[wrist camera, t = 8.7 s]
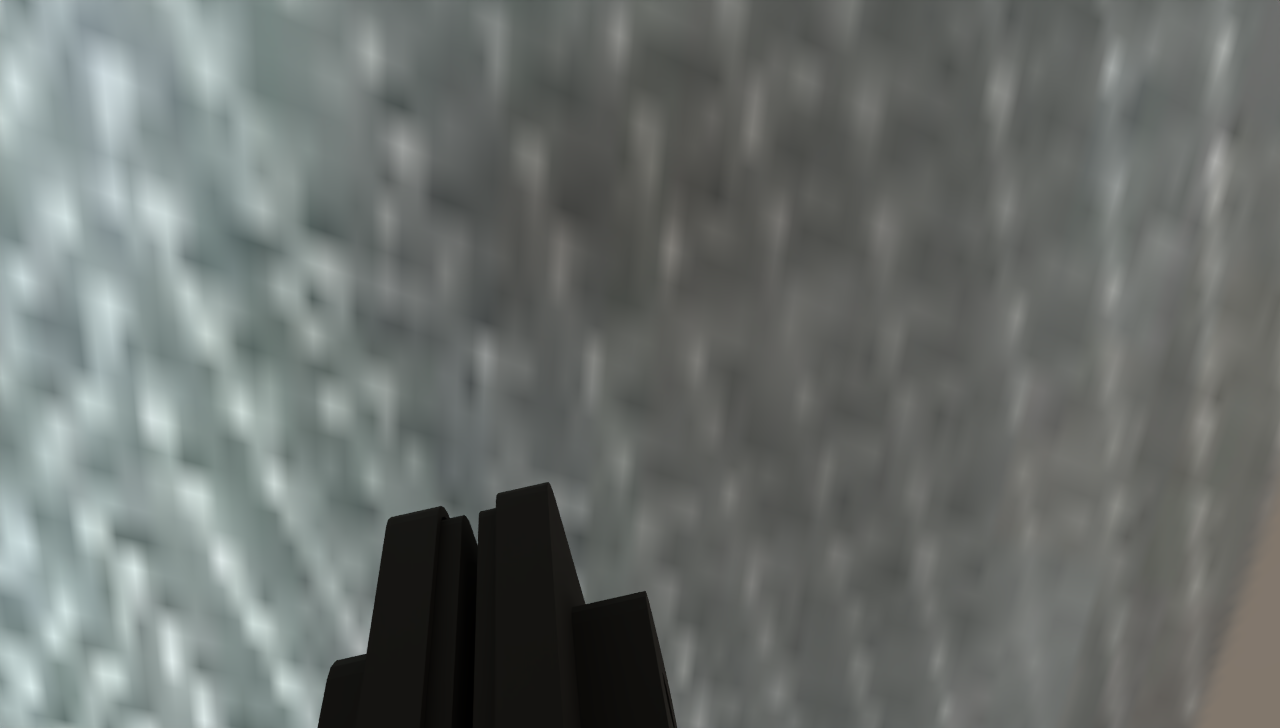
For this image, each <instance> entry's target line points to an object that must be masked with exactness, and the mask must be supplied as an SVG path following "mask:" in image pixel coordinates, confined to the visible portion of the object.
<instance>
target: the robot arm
mask: <svg viewBox="0 0 1280 728" xmlns="http://www.w3.org/2000/svg"><path fill="white" fill-rule="evenodd" d="M318 728H677V724H676V719H675V714H674V709H673V704H672V699H671V694H670V690H669V685H668V680H667V676H666V671H665V667H664V662H663V658H662V653H661V649H660V645H659V641H658V637H657V633H656V629H655V624H654V620H653V616H652V612H651V608H650V604H649V600H648V597H647V593H646V591H643V592H638V593H634V594H630V595H625V596H621V597H616V598H612V599H607V600H603V601H598V602H594V603H590V604H585V601H584V598H583V594H582V591H581V587H580V584H579V580H578V577H577V573H576V570H575V566H574V563H573V559H572V556H571V552H570V549H569V545H568V542H567V538H566V535H565V531H564V528H563V524H562V521H561V517H560V514H559V510H558V507H557V503H556V500H555V496H554V493H553V490H552V488H551V485H550V483H549V482H546V483H542V484H537V485H533V486H528V487H524V488H520V489H515V490H511V491H506V492H502V493H498V494H497V496H496V508H494V509H490V510H485V511H481V512H480V513H479V527H478V545H477V543H476V540H475V537H474V534H473V531H472V528H471V525H470V523H469V520H468V519H467V517H466V516H465V515H463V516H458V517H454V518H450V517H449V515H448V513H447V511H446V510H445V508H444V507H442V506H439V507H435V508H430V509H426V510H421V511H417V512H412V513H408V514H404V515H399V516H395V517H391V518H390V519H388V522H387V525H386V531H385V538H384V544H383V551H382V557H381V564H380V570H379V577H378V583H377V590H376V596H375V603H374V609H373V616H372V622H371V628H370V635H369V641H368V648H367V654H363V655H359V656H355V657H350V658H346V659H341V660H337V661H336V662H335V663H334V664H333V665H332V667H331V668H330V672H329V675H328V678H327V682H326V687H325V692H324V697H323V702H322V708H321V713H320V718H319V723H318Z"/></svg>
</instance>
